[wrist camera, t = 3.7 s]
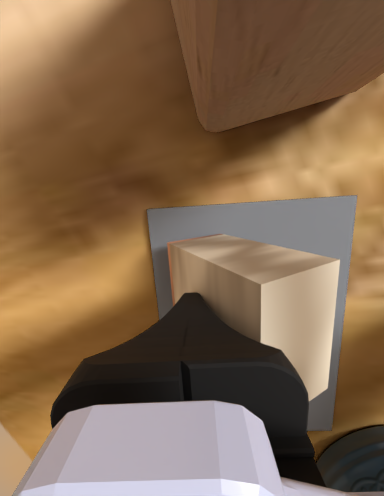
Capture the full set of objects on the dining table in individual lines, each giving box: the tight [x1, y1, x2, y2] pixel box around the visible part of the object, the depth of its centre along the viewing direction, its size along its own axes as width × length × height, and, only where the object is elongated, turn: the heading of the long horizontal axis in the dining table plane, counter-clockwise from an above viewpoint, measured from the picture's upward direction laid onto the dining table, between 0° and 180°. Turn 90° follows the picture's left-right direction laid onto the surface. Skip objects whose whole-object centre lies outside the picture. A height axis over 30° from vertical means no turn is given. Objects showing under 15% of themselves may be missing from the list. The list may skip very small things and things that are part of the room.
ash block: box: [167, 234, 340, 401], centre depth 12 cm, size 4×6×8 cm, turn 3°
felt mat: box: [147, 195, 357, 431], centre depth 17 cm, size 14×20×1 cm
